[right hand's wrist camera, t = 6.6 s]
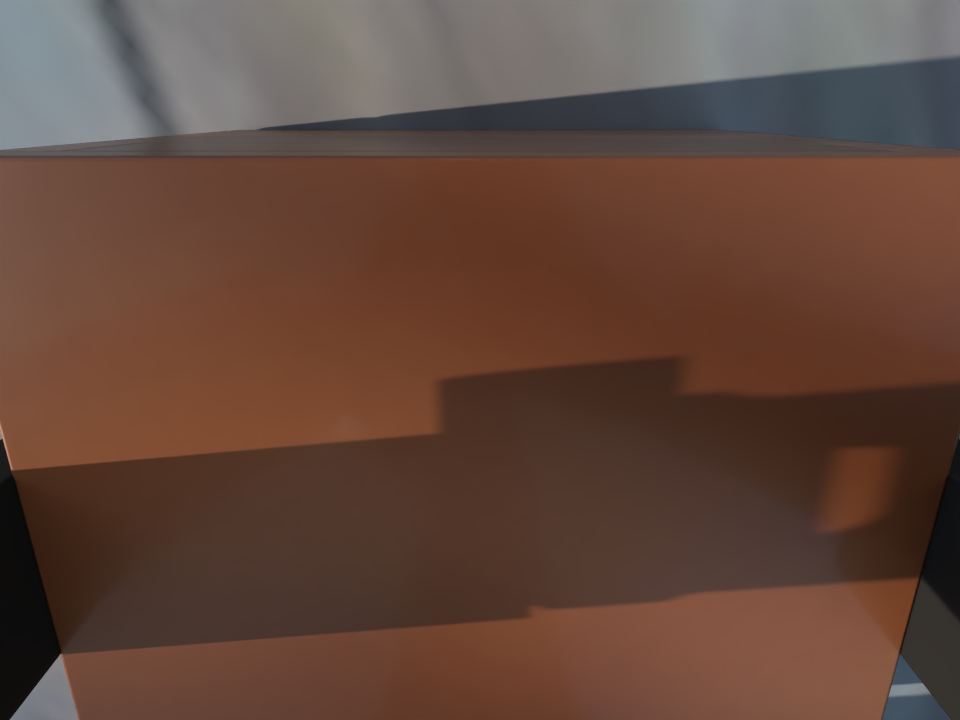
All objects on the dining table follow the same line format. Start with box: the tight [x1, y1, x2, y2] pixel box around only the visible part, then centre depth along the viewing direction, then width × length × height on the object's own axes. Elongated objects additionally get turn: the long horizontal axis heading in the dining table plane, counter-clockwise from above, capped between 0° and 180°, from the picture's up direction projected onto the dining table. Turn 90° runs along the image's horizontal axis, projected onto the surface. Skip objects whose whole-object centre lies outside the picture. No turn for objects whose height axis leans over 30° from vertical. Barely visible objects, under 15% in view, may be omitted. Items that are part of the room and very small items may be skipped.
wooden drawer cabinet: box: [0, 130, 960, 720], centre depth 14 cm, size 17×11×9 cm, turn 0°
